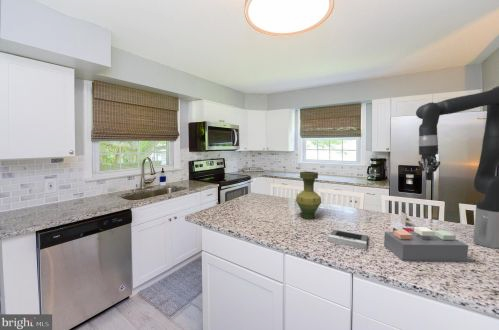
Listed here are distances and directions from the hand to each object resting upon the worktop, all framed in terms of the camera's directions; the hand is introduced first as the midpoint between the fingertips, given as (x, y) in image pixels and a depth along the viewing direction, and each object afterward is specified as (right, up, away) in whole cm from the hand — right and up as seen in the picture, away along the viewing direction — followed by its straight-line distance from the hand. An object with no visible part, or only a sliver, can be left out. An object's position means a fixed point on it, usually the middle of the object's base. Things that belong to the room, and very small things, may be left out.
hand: (429, 180), depth 112 cm
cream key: (-11, -26, -11) cm, 31 cm away
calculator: (-4, -31, +6) cm, 32 cm away
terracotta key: (-20, -28, -11) cm, 36 cm away
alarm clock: (-38, -31, +4) cm, 49 cm away
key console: (-11, -32, -11) cm, 35 cm away
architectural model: (+5, -29, +25) cm, 39 cm away
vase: (-49, -28, +40) cm, 69 cm away
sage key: (-2, -28, -11) cm, 30 cm away
